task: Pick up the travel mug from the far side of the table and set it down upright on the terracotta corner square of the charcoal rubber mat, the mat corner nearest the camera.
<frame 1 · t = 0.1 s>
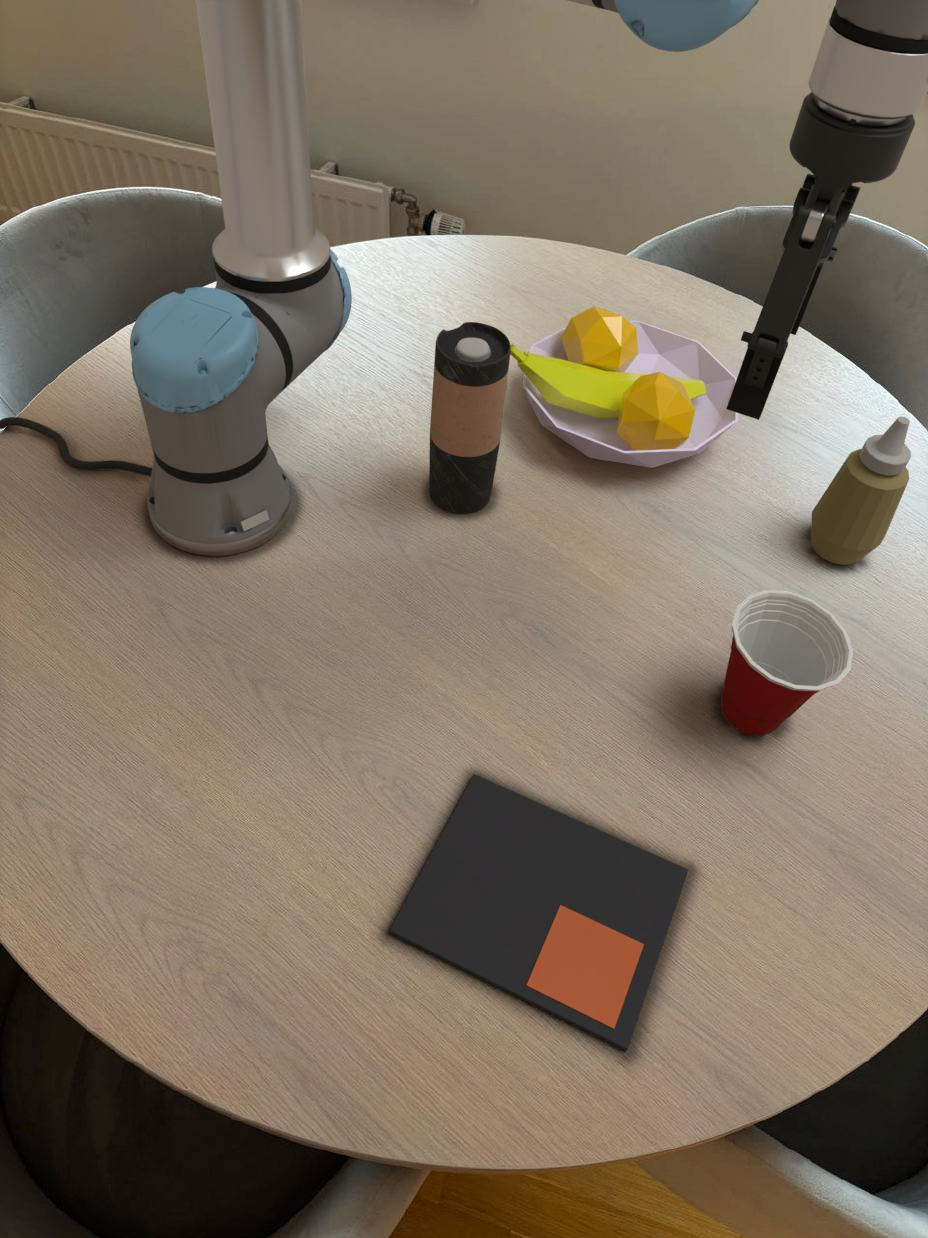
hand: (763, 368, 80), 28 cm above the table, tool pointing down, fingers open, 13 cm apart
fruit bowl: (613, 419, 120), on the table
squeeze bottle: (835, 548, 107), on the table
plastic cup: (751, 713, 92), on the table
travel mug: (459, 494, 109), on the table
mat: (542, 902, 78), on the table
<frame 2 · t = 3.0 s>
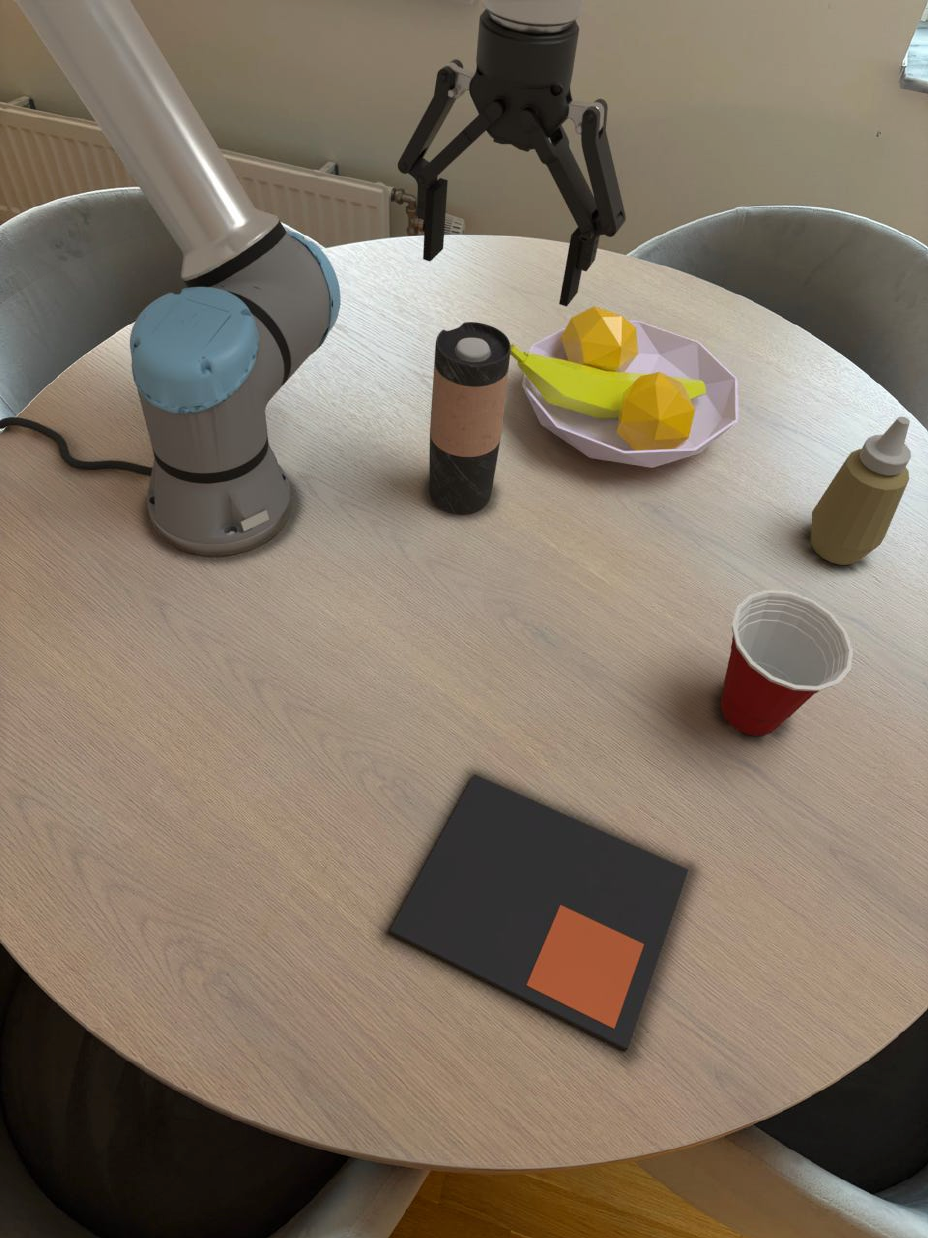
hand: (499, 276, 87), 28 cm above the table, tool pointing down, fingers open, 13 cm apart
nothing on the table moved.
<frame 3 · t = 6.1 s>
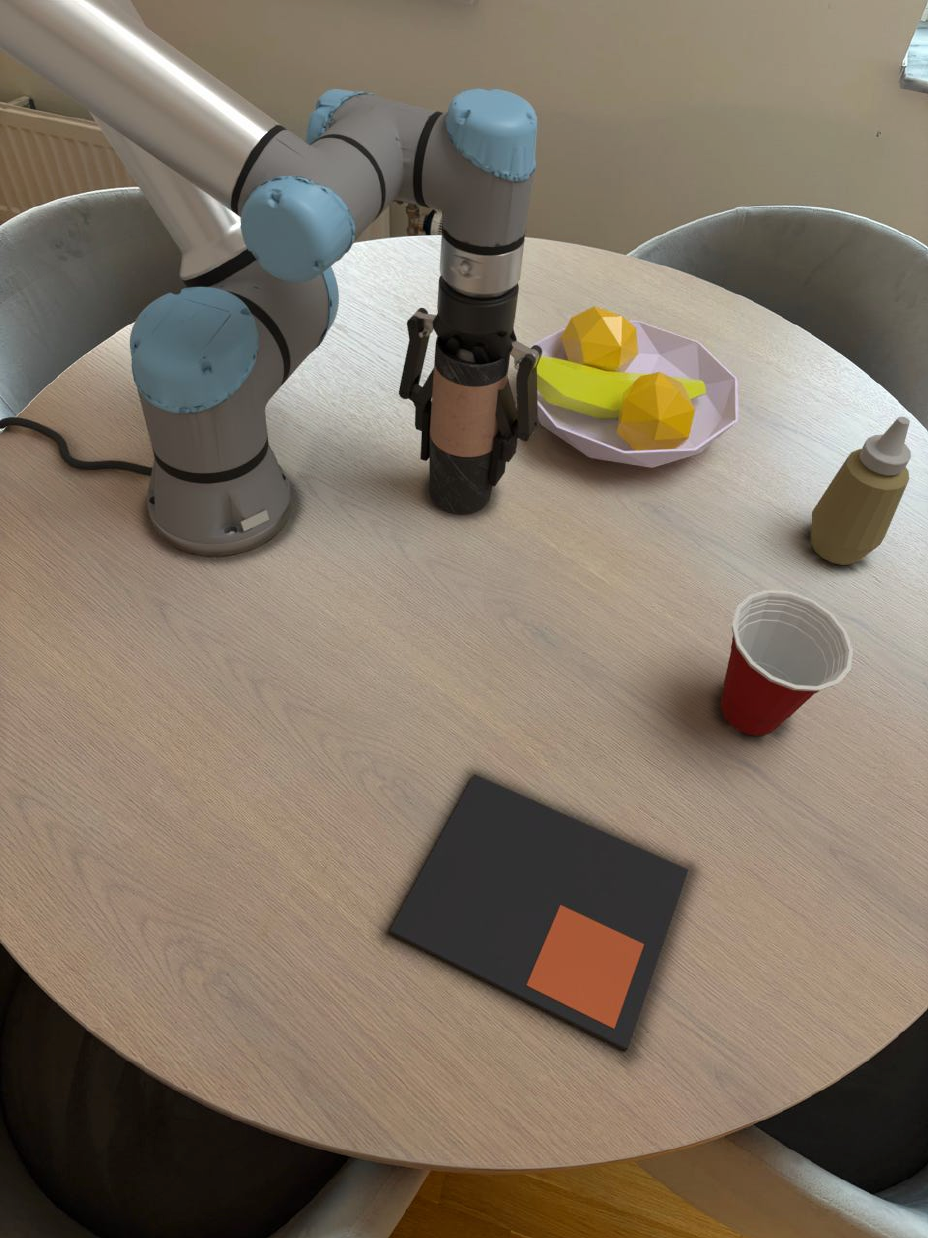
hand: (462, 465, 105), 4 cm above the table, tool pointing down, fingers closed on travel mug, 8 cm apart
travel mug: (459, 494, 109), on the table, touching gripper
everything else where it was.
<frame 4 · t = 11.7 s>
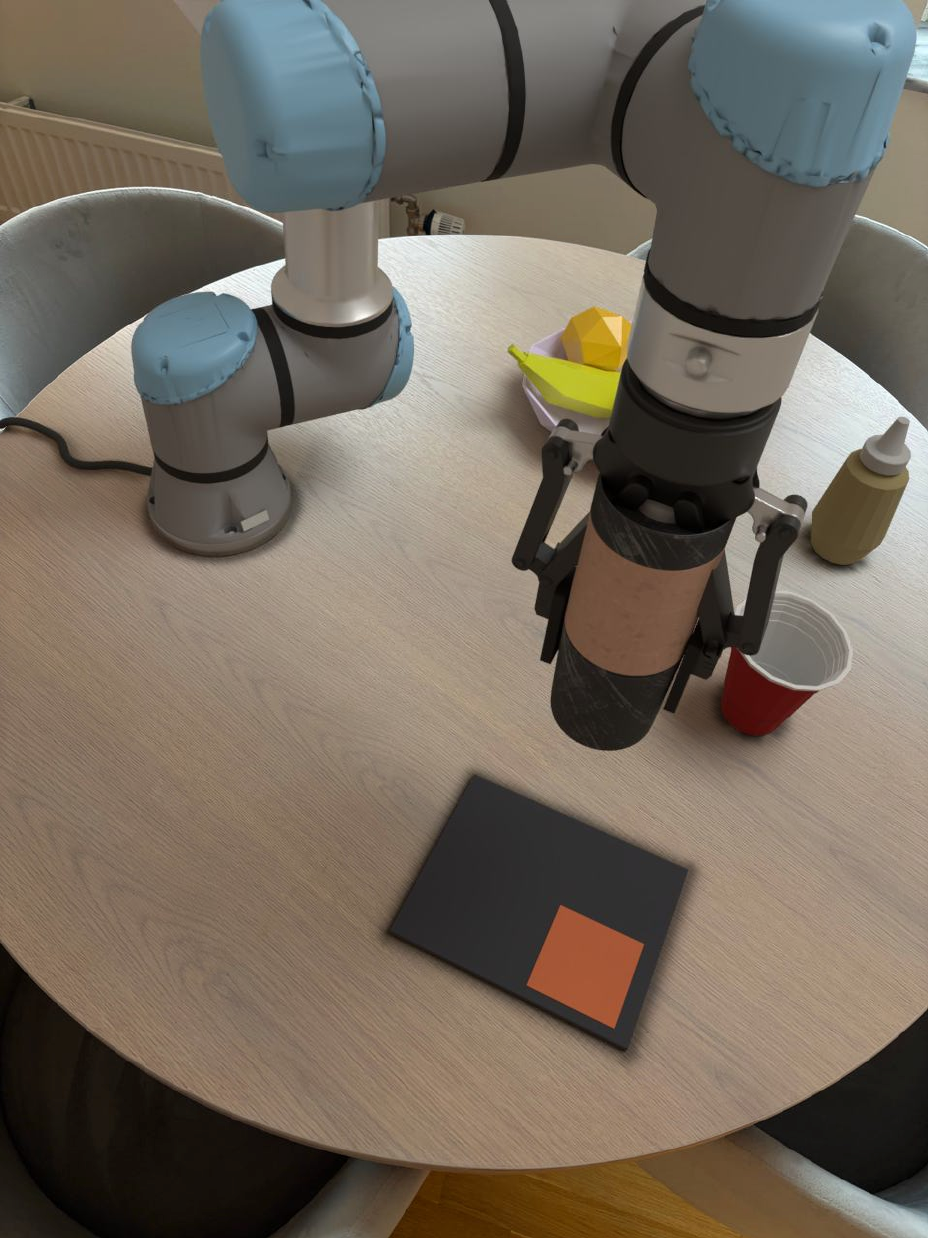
hand: (612, 671, 61), 26 cm above the table, tool pointing down, fingers closed on travel mug, 8 cm apart
travel mug: (601, 708, 65), point 21 cm above the table, touching gripper
everything else where it was.
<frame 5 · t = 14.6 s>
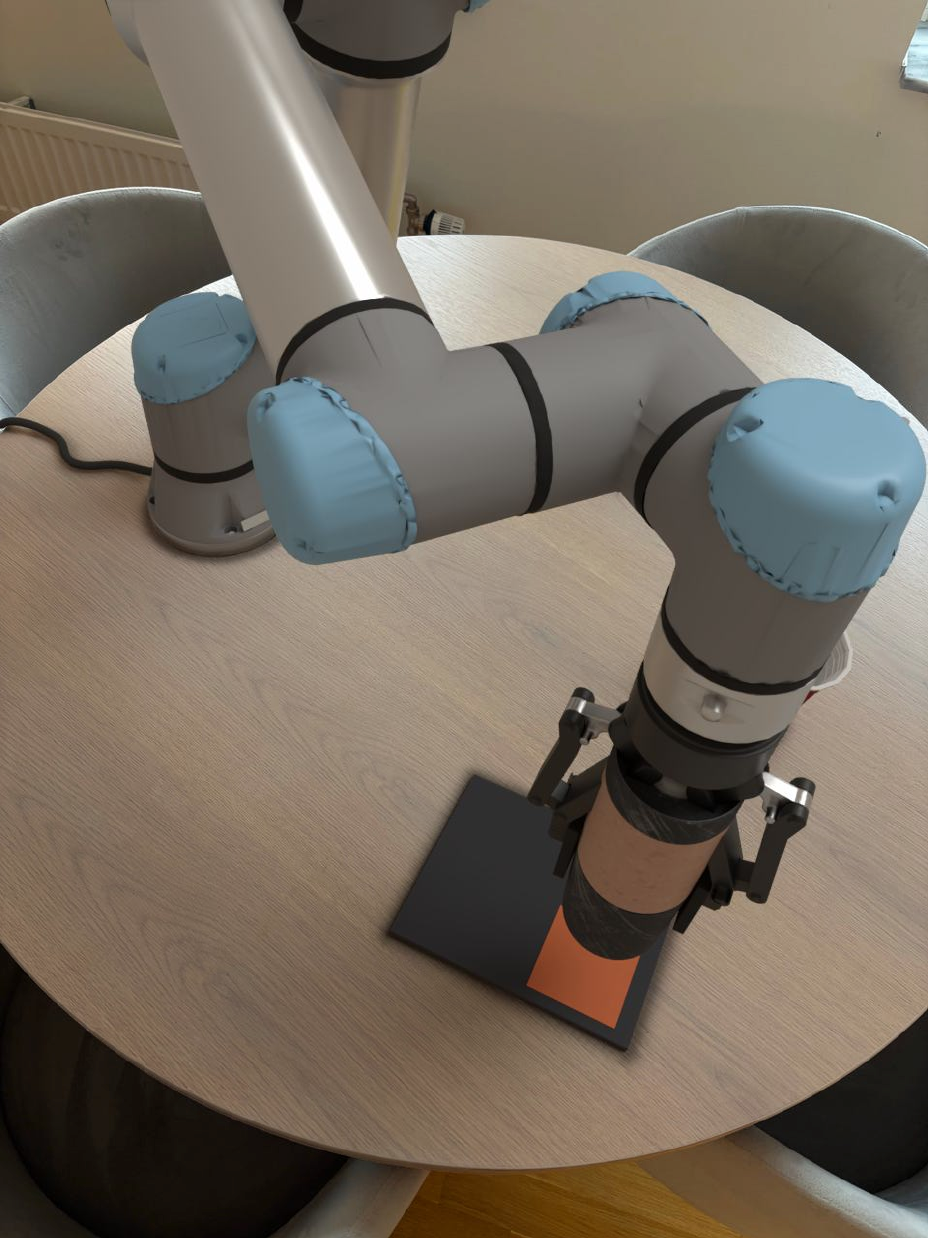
hand: (623, 886, 63), 15 cm above the table, tool pointing down, fingers closed on travel mug, 8 cm apart
travel mug: (611, 911, 66), point 11 cm above the table, touching gripper
everything else where it was.
when the fingers open (5 cm above the table, at t = 17.3 s): travel mug stays where it is, resting on mat.
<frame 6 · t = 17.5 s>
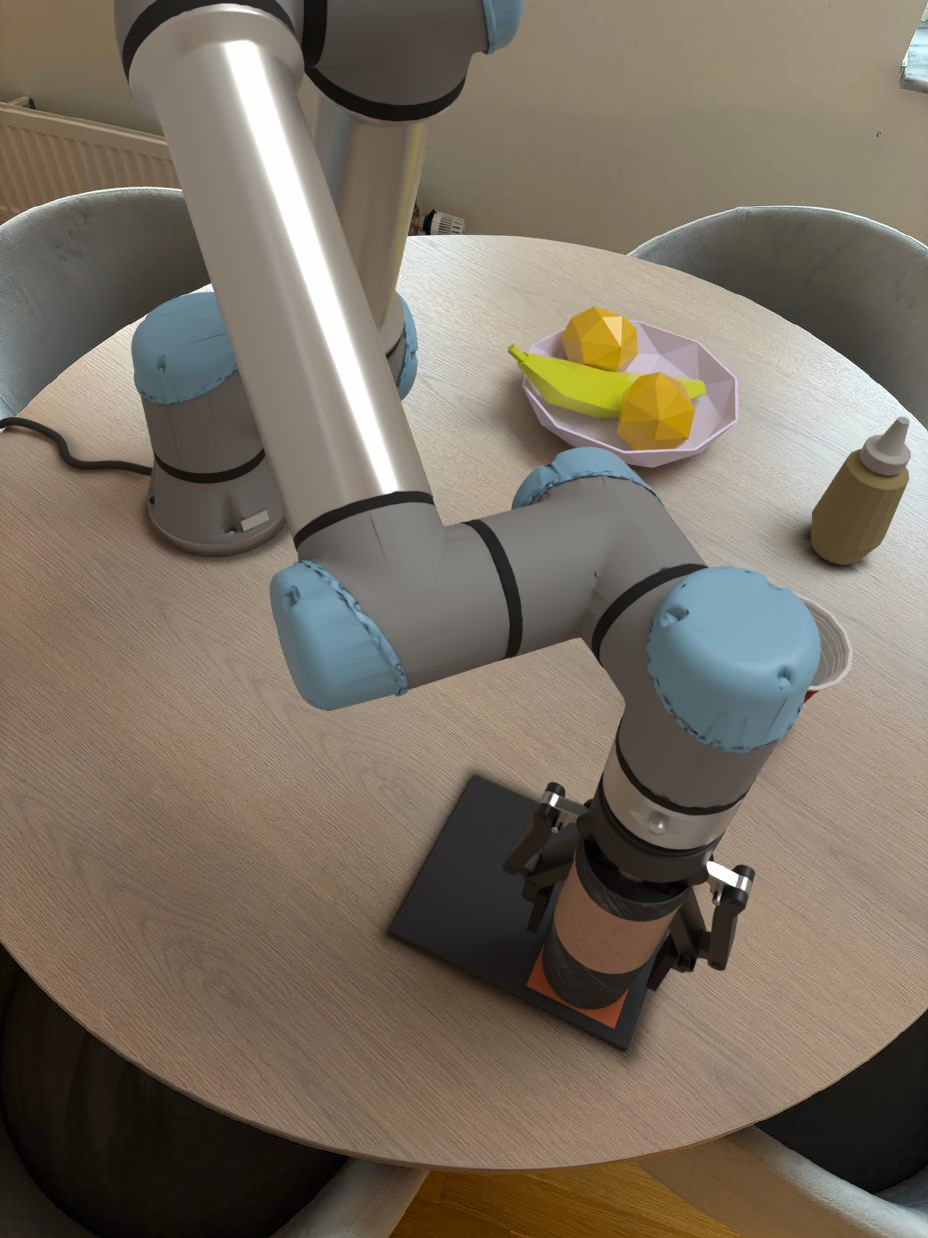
hand: (595, 944, 71), 5 cm above the table, tool pointing down, fingers open, 9 cm apart
travel mug: (586, 964, 74), point 1 cm above the table, touching mat
everything else where it was.
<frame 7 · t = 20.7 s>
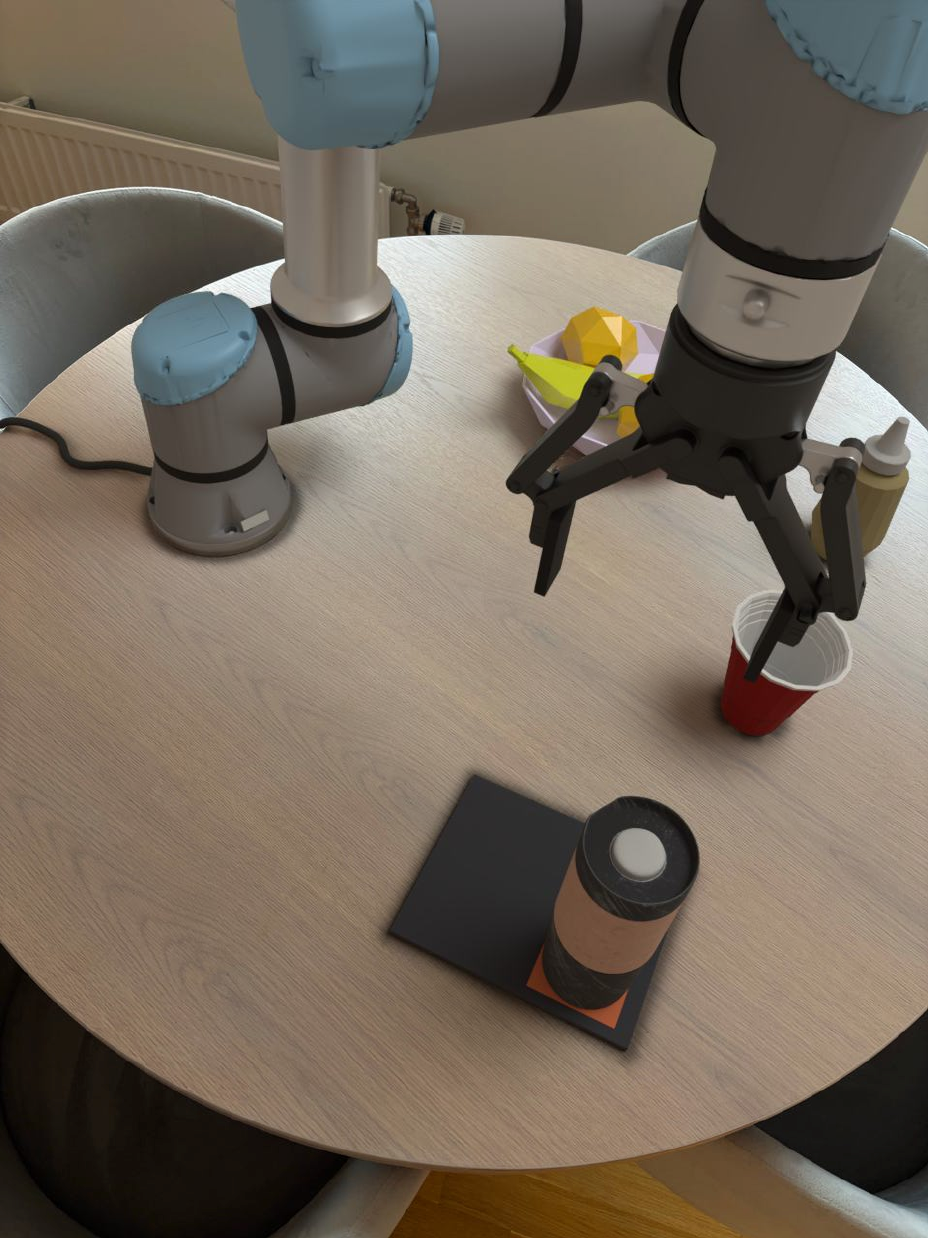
hand: (648, 622, 59), 30 cm above the table, tool pointing down, fingers open, 13 cm apart
nothing on the table moved.
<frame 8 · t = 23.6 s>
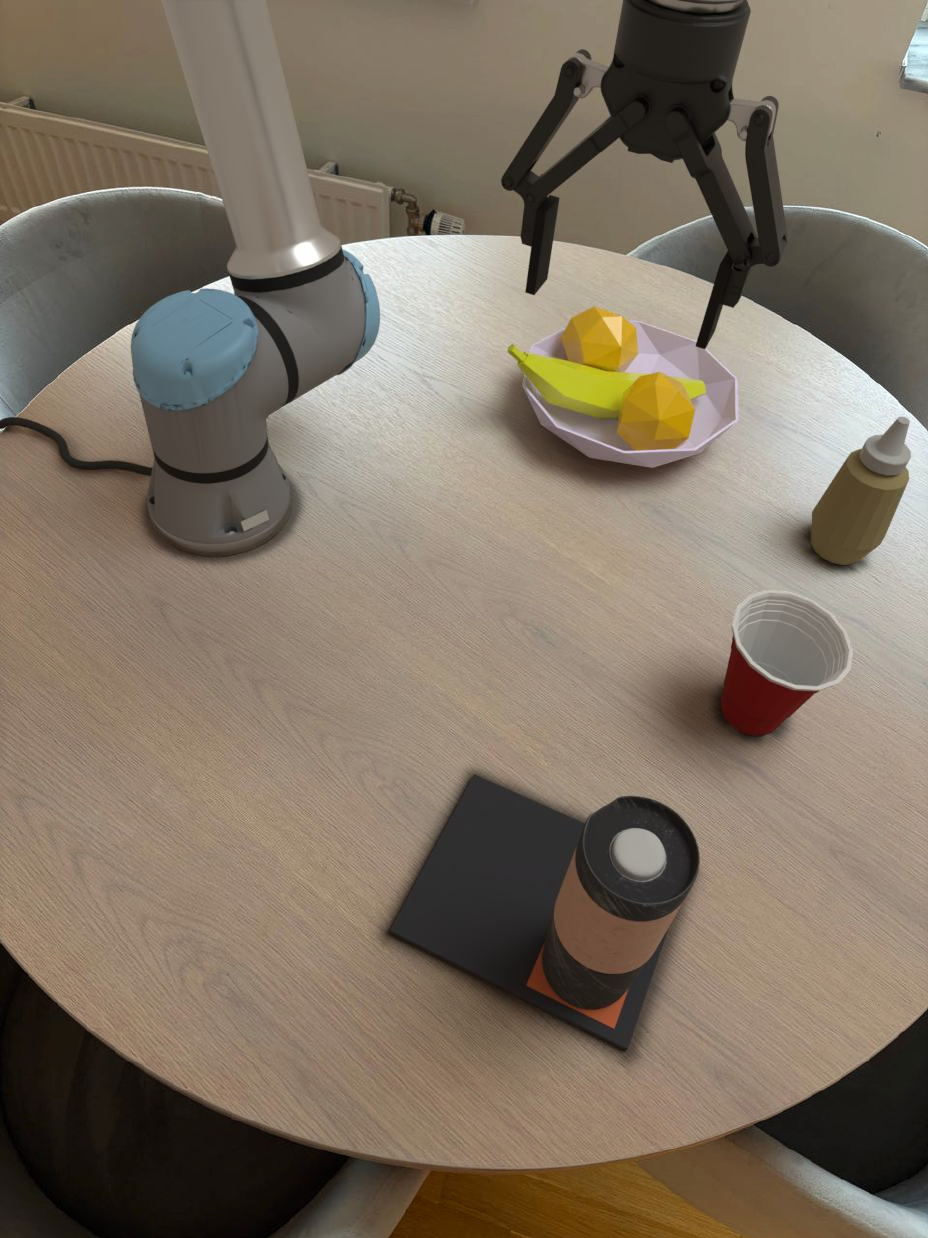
hand: (618, 312, 72), 35 cm above the table, tool pointing down, fingers open, 13 cm apart
nothing on the table moved.
at the end: travel mug 0.1 cm from the target spot on the mat, point 0.5 cm above the mat's base; travel mug tilted 0°; the gripper is holding nothing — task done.
